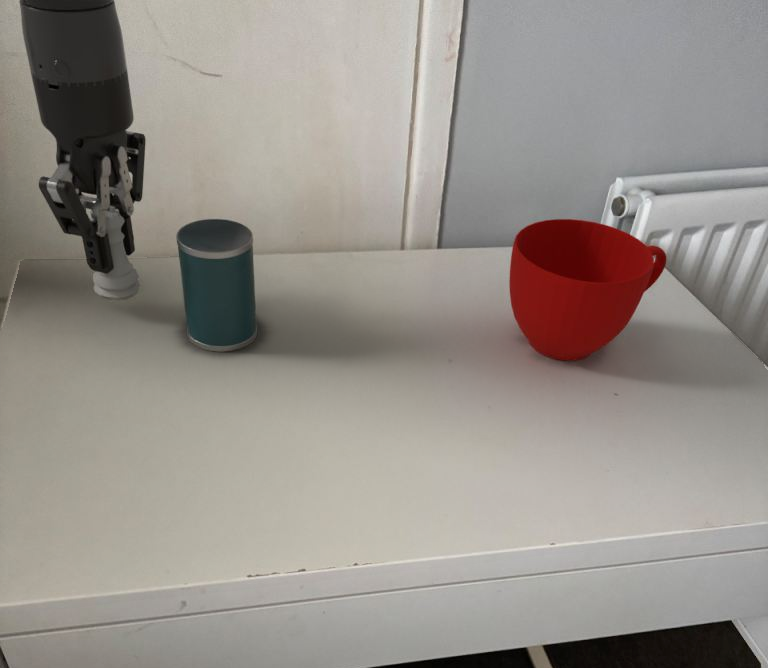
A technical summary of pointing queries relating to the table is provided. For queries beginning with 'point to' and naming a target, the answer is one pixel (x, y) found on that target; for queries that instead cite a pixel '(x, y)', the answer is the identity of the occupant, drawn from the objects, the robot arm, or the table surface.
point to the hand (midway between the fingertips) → (112, 260)
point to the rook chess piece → (116, 263)
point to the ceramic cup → (578, 284)
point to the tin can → (218, 283)
